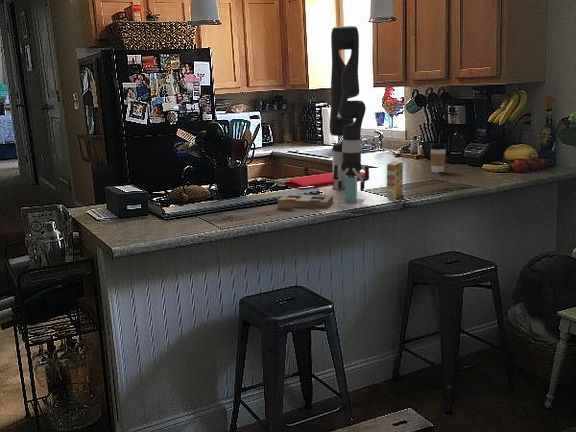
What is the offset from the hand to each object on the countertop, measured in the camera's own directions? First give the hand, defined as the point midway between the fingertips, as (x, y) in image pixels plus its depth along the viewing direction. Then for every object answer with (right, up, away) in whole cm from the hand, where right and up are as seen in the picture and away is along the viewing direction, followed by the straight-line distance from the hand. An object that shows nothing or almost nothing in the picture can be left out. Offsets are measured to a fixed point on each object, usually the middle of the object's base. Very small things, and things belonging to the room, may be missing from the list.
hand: (351, 190), depth 261 cm
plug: (0, -4, +1) cm, 5 cm away
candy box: (+19, -3, +10) cm, 22 cm away
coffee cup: (+52, +12, +72) cm, 90 cm away
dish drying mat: (-7, +5, +50) cm, 50 cm away
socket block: (-19, -7, -2) cm, 20 cm away
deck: (0, -5, +2) cm, 6 cm away
